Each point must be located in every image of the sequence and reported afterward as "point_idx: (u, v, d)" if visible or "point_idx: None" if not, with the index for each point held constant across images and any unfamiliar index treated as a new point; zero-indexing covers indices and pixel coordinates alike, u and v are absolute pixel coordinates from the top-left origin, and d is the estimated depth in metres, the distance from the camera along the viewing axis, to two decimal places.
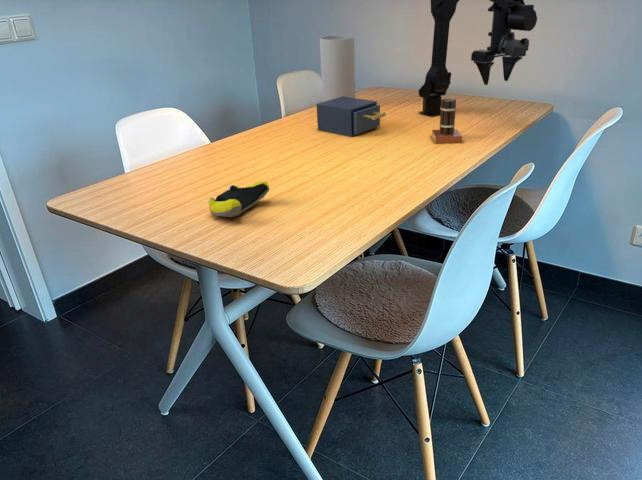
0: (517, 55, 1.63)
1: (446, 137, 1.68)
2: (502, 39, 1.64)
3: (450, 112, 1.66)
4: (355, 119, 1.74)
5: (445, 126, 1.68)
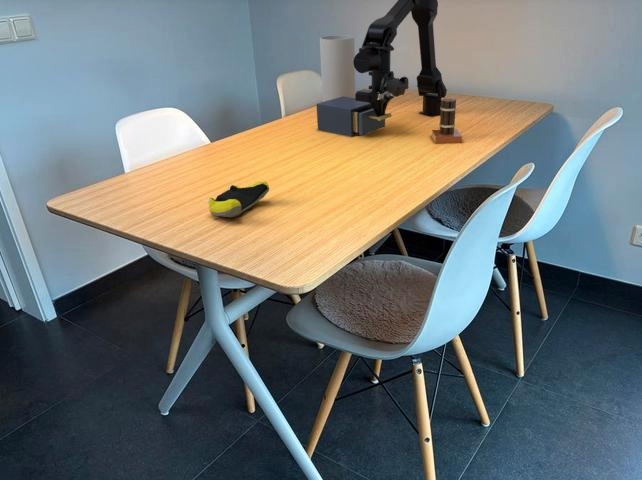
0: (399, 94, 1.66)
1: (446, 137, 1.68)
2: (383, 79, 1.66)
3: (450, 112, 1.66)
4: (360, 120, 1.73)
5: (445, 126, 1.68)
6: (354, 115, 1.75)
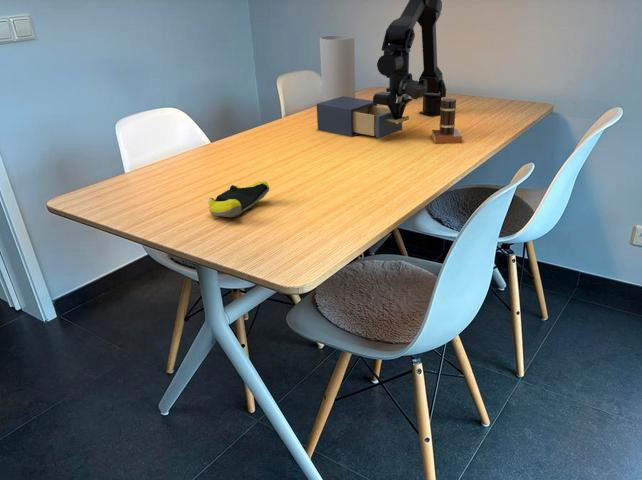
0: (418, 97, 1.63)
1: (446, 137, 1.68)
2: (402, 81, 1.62)
3: (450, 112, 1.66)
4: (378, 123, 1.69)
5: (445, 126, 1.68)
6: (371, 118, 1.71)
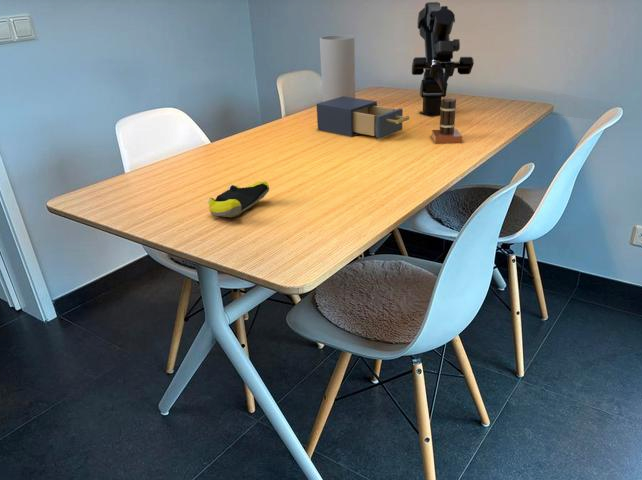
0: (443, 49, 1.67)
1: (446, 137, 1.68)
2: (435, 47, 1.73)
3: (450, 112, 1.66)
4: (378, 123, 1.69)
5: (445, 126, 1.68)
6: (371, 118, 1.71)
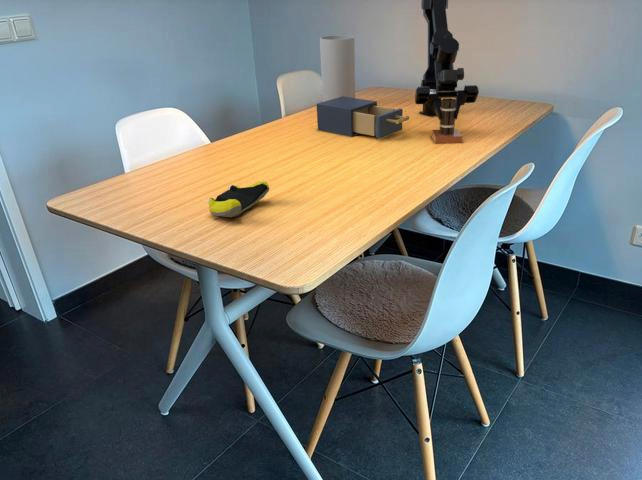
0: (447, 78, 1.63)
1: (446, 137, 1.68)
2: (438, 76, 1.69)
3: (450, 112, 1.66)
4: (378, 123, 1.69)
5: (445, 126, 1.68)
6: (371, 118, 1.71)
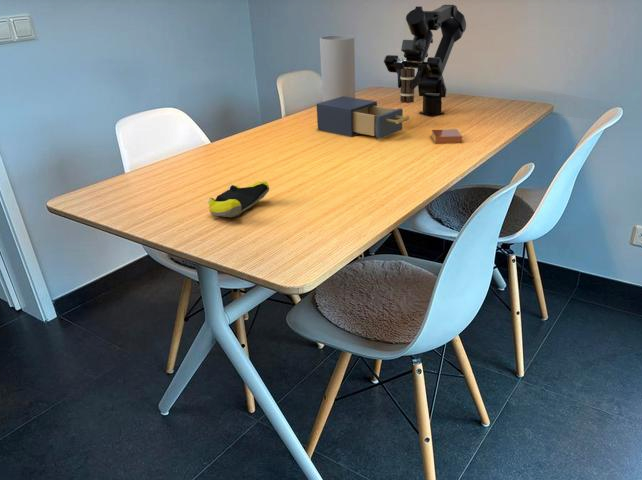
0: (405, 47, 1.71)
1: (446, 137, 1.68)
2: None
3: (406, 81, 1.74)
4: (378, 123, 1.69)
5: (402, 94, 1.77)
6: (371, 118, 1.71)
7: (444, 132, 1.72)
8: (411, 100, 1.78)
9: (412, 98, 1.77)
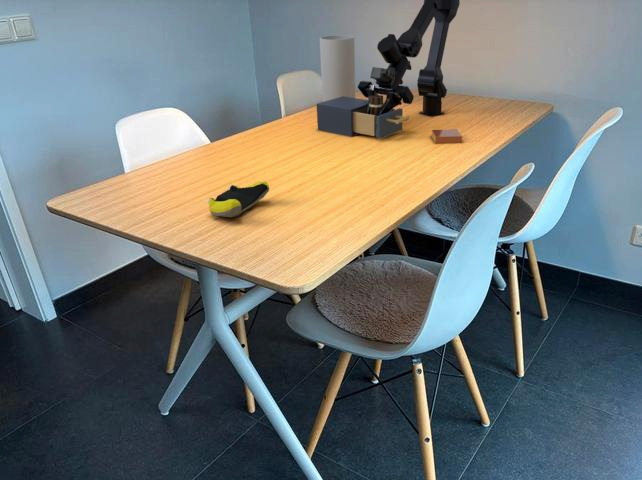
0: (373, 75, 1.70)
1: (446, 137, 1.68)
2: None
3: (374, 108, 1.73)
4: (378, 123, 1.69)
5: None
6: (371, 118, 1.71)
7: (444, 132, 1.72)
8: None
9: None
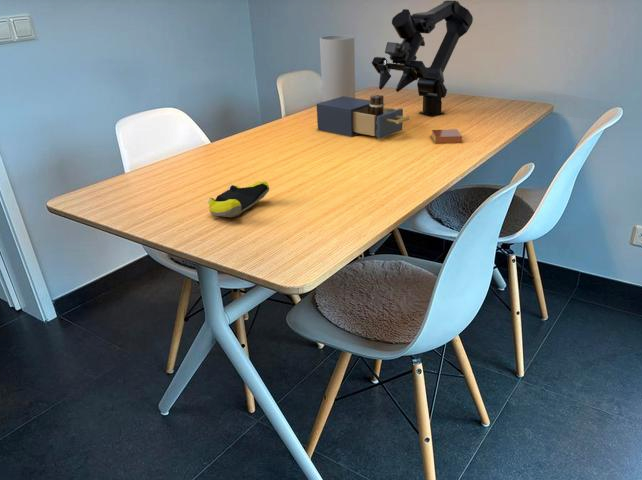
0: (388, 50, 1.72)
1: (446, 137, 1.68)
2: None
3: (374, 108, 1.73)
4: (378, 123, 1.69)
5: None
6: (371, 118, 1.71)
7: (444, 132, 1.72)
8: None
9: None
